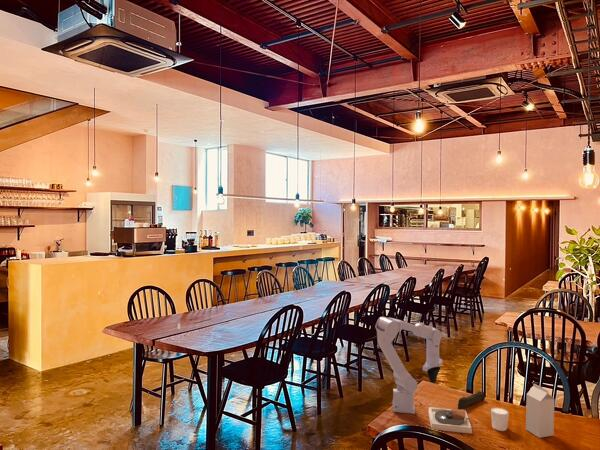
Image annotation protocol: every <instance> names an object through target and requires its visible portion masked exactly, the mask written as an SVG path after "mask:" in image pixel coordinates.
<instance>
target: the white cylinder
mask: <svg viewBox="0 0 600 450" xmlns="http://www.w3.org/2000/svg"><path fill="white" fill-rule="evenodd" d="M509 412H510V411H508V410H507V409H504V408H501V407H492V408H491V409H490V413H491V414H490V415H491V417H490V418H491V426H492V428H493V429H494V430H497V431H499V432H500V431H501V432H504V431H506V430H508V422H509V416H510V415H509V414H510V413H509Z"/></svg>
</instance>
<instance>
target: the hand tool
mask: <svg viewBox="0 0 600 450" xmlns="http://www.w3.org/2000/svg"><path fill="white" fill-rule="evenodd" d="M485 396H486V395H485V393H484V392H483V391H480V390H479V391H477V392H476V393H473V394H470V395H469V396H467V397H465V396H462V397H460V398H459V399H458V403H457V409H459V410H464V409H467V408H468V407H469V406H471V405H473V404H476V403H478V402H480V401H484V400H485V398H486V397H485ZM463 408H464V409H463Z"/></svg>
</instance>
